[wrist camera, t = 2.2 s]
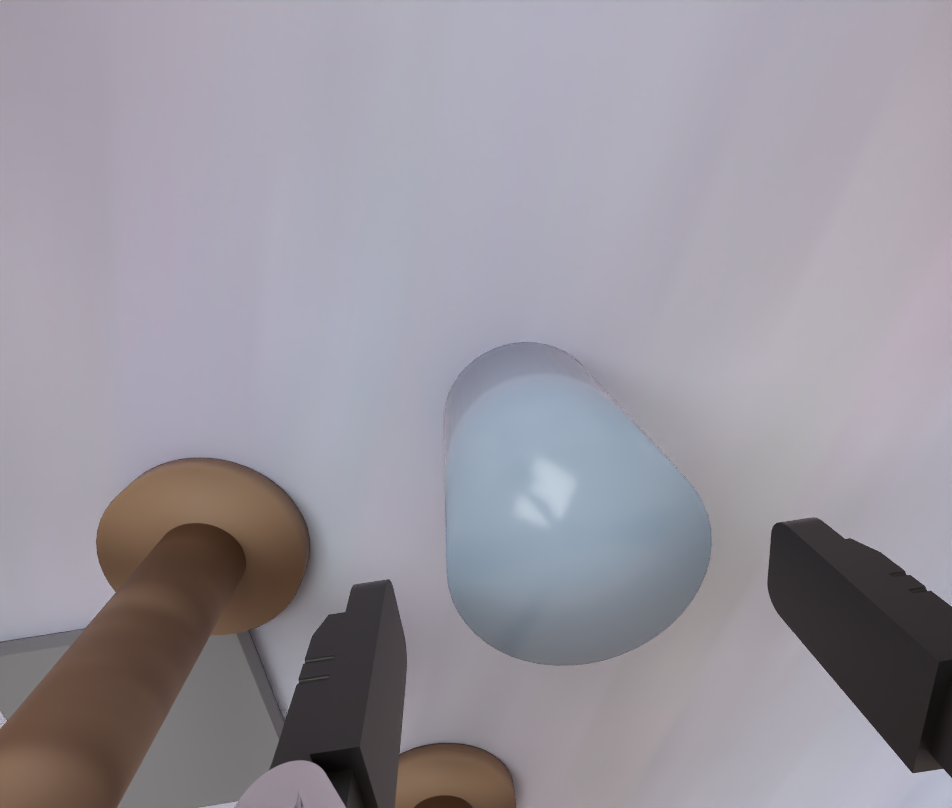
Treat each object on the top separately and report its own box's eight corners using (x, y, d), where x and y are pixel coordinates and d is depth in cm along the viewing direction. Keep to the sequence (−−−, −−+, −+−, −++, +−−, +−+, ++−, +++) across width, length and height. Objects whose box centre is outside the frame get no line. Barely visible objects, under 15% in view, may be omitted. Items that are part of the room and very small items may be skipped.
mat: (-15, 644, 20) (-33, 661, 19) (238, 604, 20) (230, 619, 19) (89, 807, 24) (78, 826, 23) (303, 772, 24) (299, 791, 23)
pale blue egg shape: (431, 355, 17) (424, 467, 10) (595, 330, 17) (715, 422, 10) (456, 498, 19) (467, 682, 12) (604, 475, 19) (707, 644, 12)
